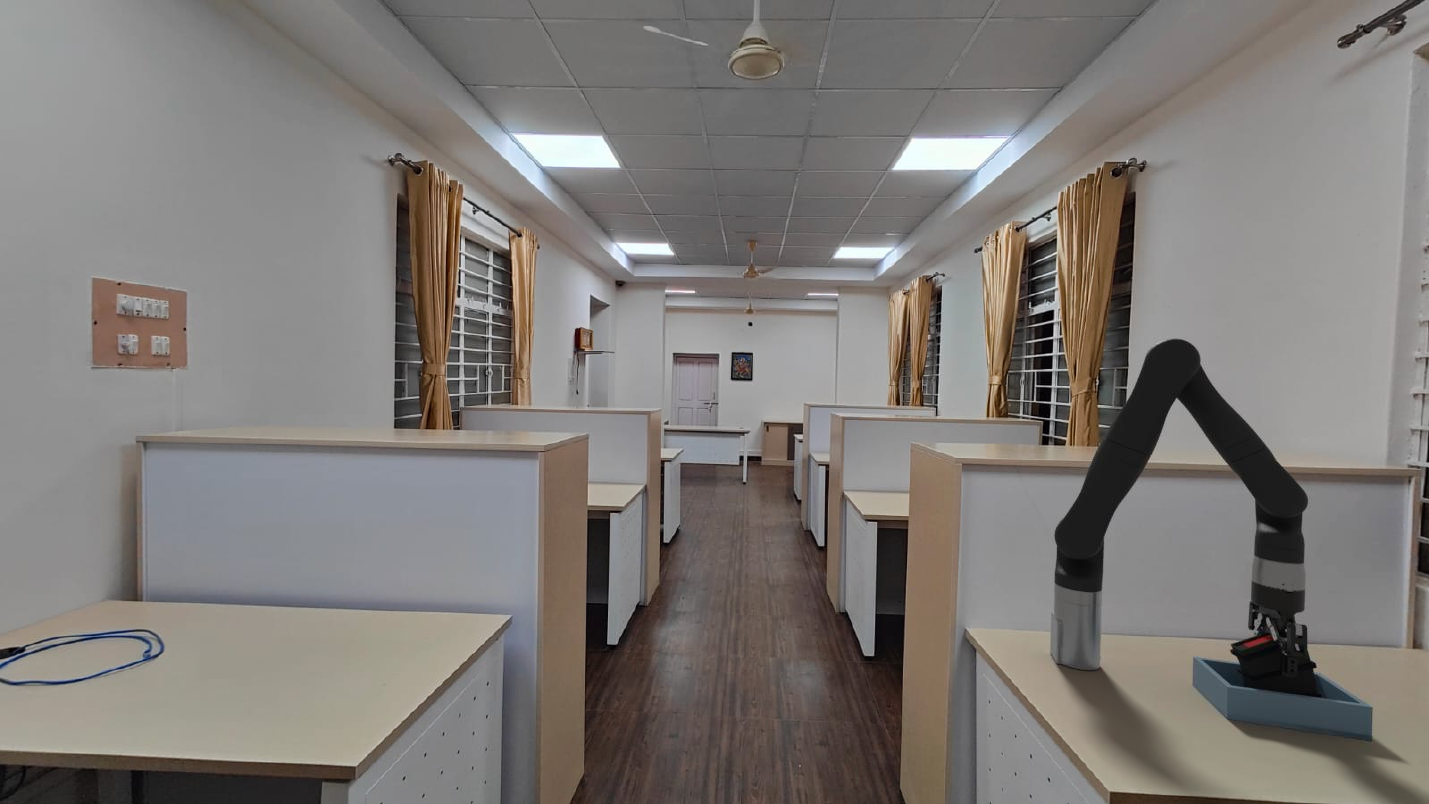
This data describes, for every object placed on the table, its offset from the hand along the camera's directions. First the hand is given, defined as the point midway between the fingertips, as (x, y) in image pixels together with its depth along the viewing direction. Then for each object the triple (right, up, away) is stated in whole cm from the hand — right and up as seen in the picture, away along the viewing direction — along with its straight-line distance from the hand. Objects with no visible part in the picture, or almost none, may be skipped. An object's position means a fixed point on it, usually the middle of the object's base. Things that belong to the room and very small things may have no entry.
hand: (1275, 666), depth 114 cm
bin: (0, -9, 0) cm, 9 cm away
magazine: (0, -8, 0) cm, 8 cm away
